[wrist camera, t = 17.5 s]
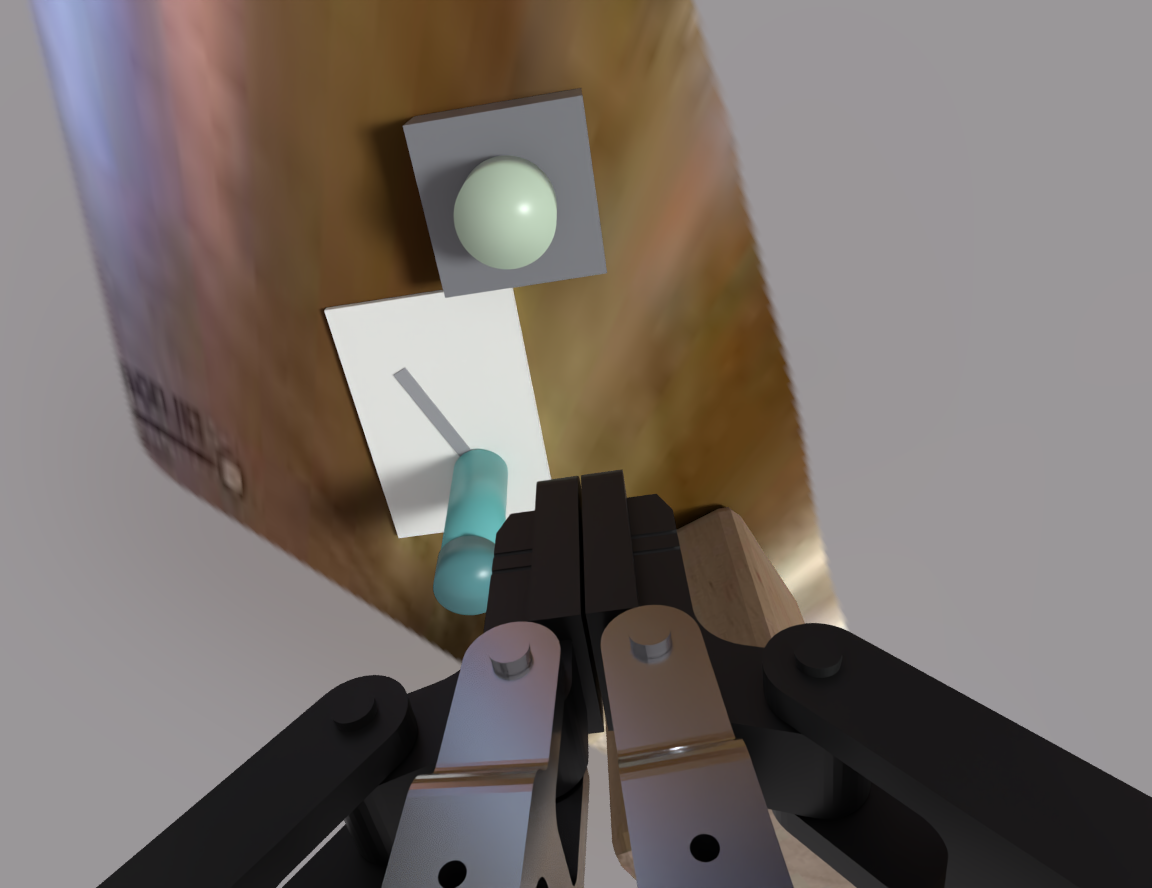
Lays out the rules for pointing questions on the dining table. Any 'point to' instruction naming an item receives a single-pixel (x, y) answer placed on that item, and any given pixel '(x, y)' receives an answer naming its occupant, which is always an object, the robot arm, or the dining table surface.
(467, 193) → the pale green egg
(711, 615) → the wooden block
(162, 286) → the dining table surface
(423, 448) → the pad
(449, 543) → the marker
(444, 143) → the button housing
